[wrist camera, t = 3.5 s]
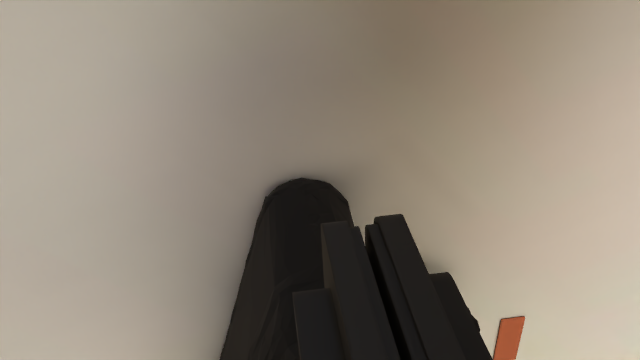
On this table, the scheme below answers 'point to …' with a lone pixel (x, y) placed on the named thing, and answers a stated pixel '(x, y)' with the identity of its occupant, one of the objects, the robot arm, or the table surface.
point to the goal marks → (508, 338)
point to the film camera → (282, 269)
